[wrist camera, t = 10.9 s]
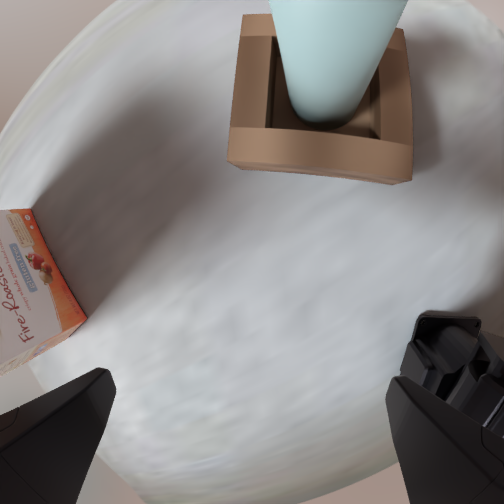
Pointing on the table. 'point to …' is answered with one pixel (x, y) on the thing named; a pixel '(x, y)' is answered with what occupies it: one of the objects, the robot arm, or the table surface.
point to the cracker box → (30, 293)
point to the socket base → (313, 140)
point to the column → (331, 53)
